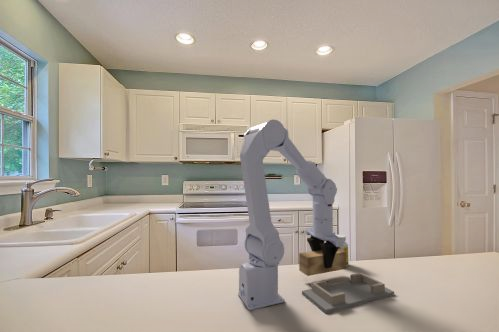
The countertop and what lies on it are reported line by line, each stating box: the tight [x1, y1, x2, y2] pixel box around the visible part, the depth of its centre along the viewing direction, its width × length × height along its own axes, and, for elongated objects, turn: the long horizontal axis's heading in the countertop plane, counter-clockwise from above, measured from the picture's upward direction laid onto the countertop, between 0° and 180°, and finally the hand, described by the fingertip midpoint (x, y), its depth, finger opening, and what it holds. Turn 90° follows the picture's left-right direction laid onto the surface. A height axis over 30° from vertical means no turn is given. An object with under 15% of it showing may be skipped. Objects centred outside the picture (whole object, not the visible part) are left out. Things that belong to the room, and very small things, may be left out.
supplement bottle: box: [335, 234, 349, 268], centre depth 79 cm, size 5×5×10 cm
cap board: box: [301, 272, 395, 314], centre depth 59 cm, size 22×9×3 cm, turn 112°
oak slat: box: [298, 249, 347, 277], centre depth 68 cm, size 14×4×5 cm, turn 112°
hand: (323, 264), depth 68 cm, fingers closed on oak slat, 4 cm apart
